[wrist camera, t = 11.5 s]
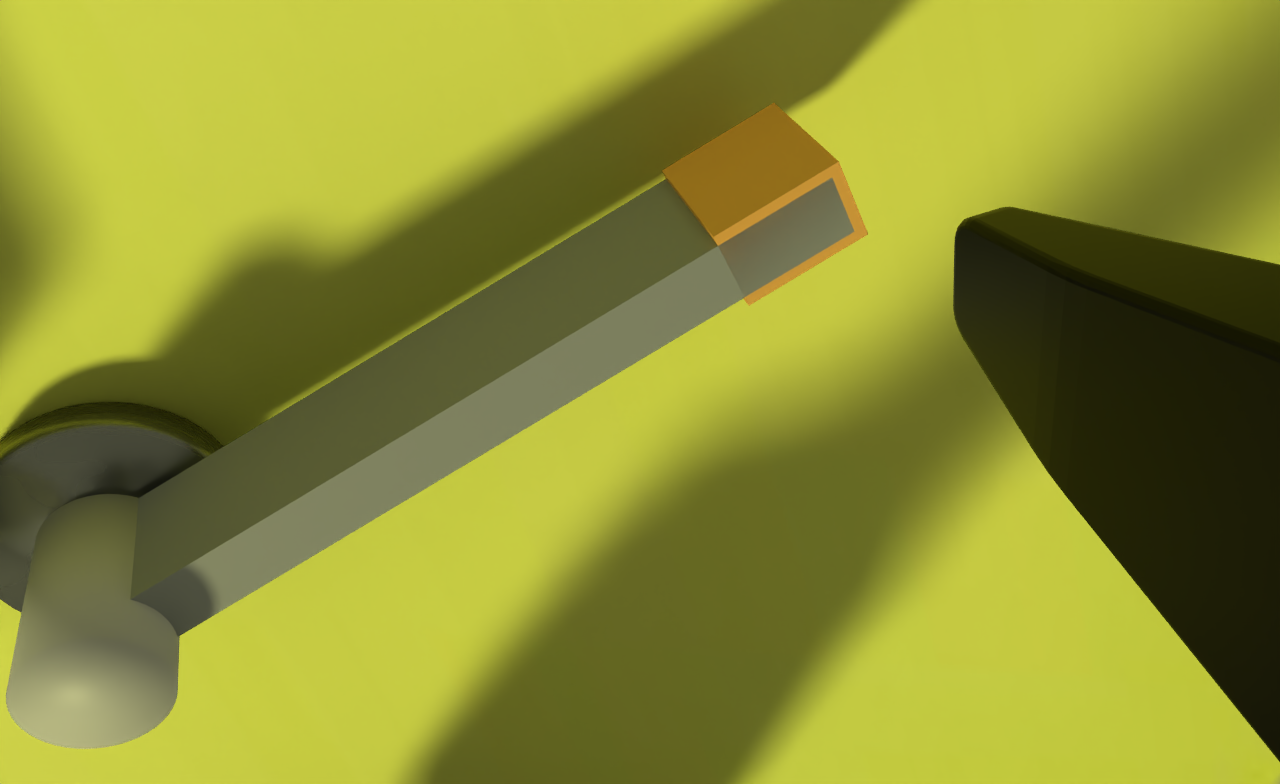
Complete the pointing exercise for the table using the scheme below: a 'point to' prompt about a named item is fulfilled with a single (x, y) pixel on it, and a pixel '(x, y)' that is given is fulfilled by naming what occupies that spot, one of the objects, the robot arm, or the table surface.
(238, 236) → the table surface
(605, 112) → the table surface
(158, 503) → the bar
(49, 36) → the table surface
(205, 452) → the clip base
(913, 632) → the table surface
